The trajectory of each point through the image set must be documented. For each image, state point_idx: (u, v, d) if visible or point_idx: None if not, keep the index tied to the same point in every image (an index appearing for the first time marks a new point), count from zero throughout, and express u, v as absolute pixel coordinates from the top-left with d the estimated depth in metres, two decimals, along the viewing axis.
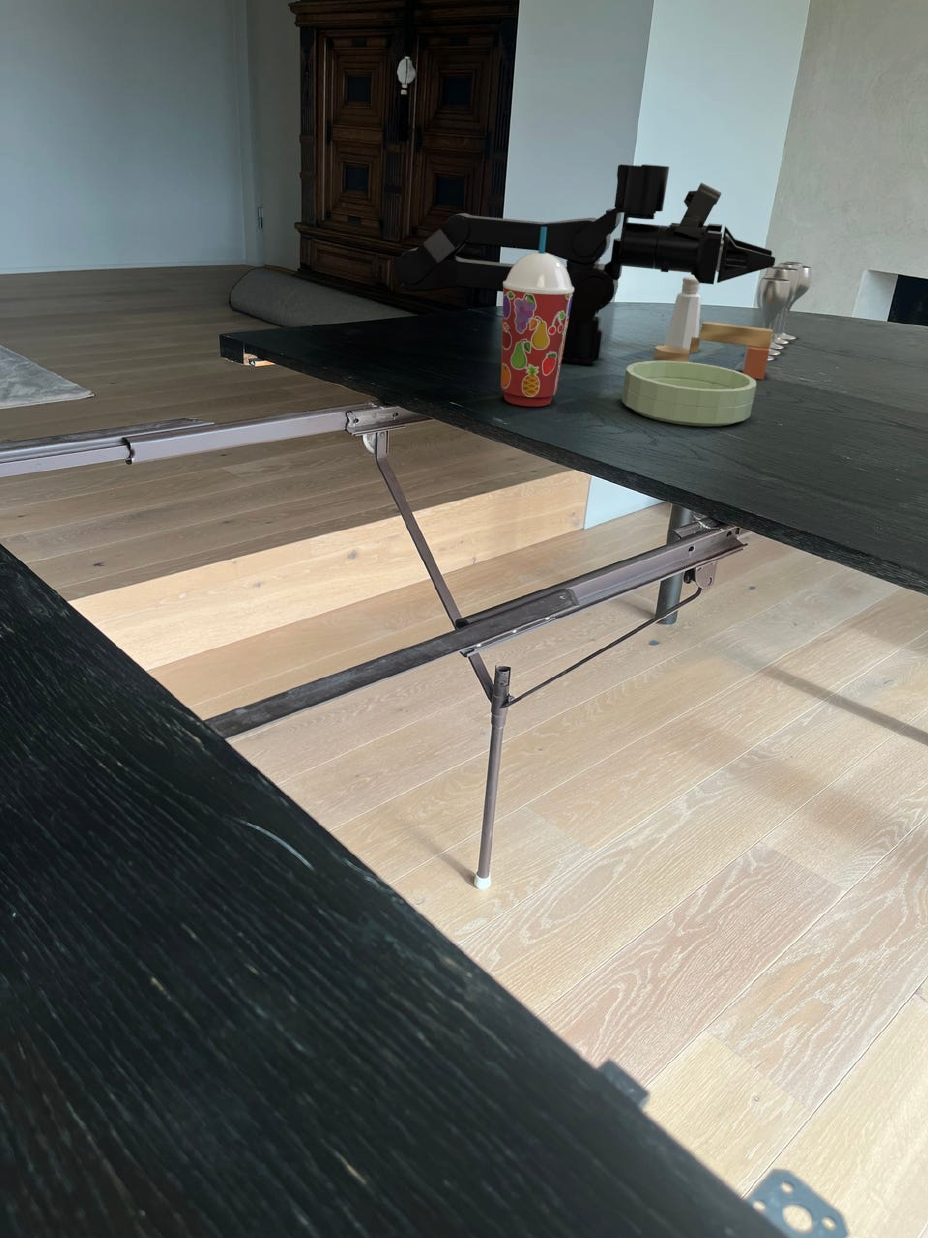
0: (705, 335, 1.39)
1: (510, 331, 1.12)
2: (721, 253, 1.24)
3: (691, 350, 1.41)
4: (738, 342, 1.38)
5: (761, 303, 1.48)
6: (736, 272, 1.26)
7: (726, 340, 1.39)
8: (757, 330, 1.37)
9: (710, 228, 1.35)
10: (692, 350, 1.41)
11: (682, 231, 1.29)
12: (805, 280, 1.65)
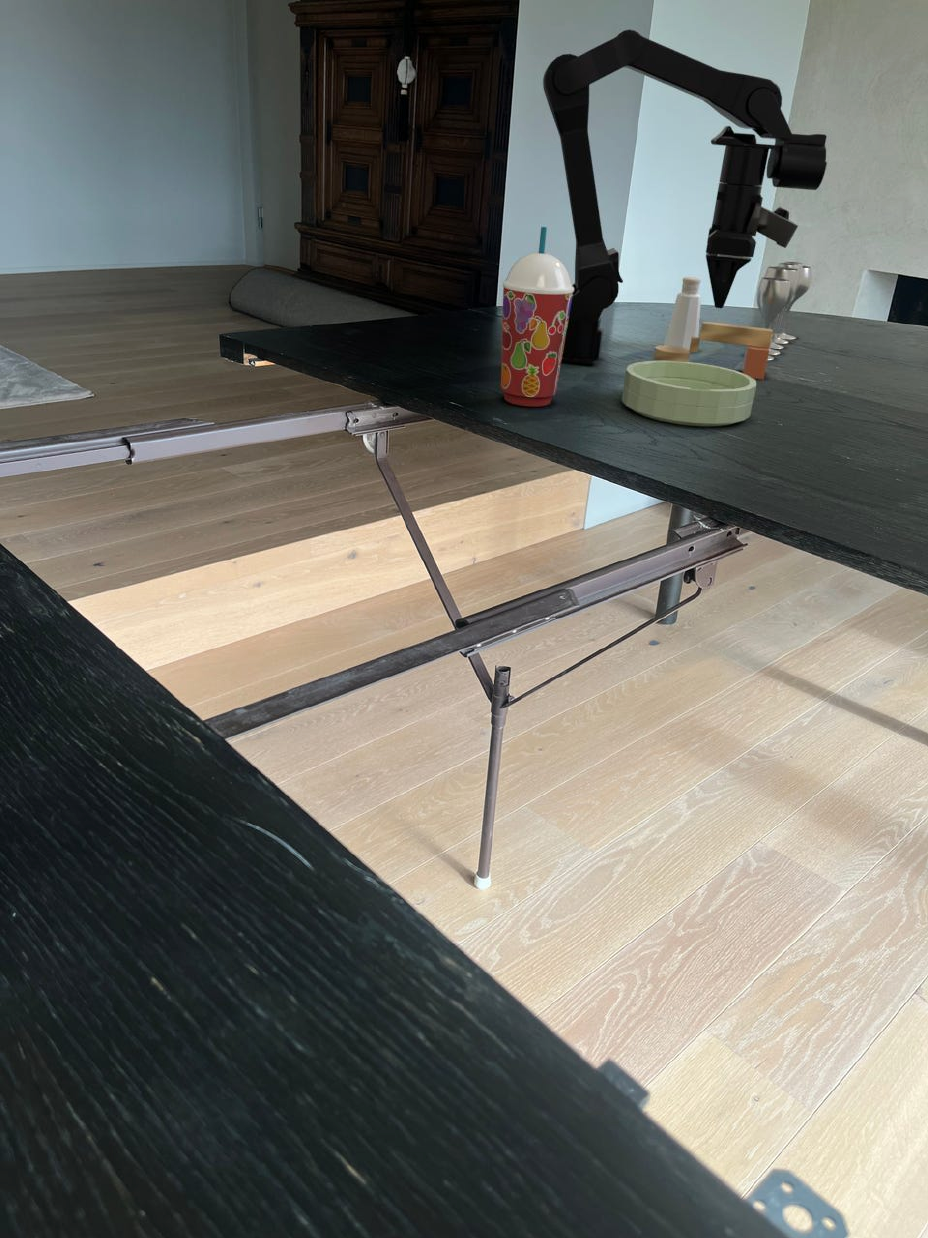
0: (705, 335, 1.39)
1: (510, 331, 1.12)
2: (733, 257, 1.27)
3: (691, 350, 1.41)
4: (738, 342, 1.38)
5: (761, 303, 1.48)
6: (713, 272, 1.30)
7: (726, 340, 1.39)
8: (757, 330, 1.37)
9: None
10: (692, 349, 1.41)
11: (755, 211, 1.29)
12: (805, 280, 1.65)
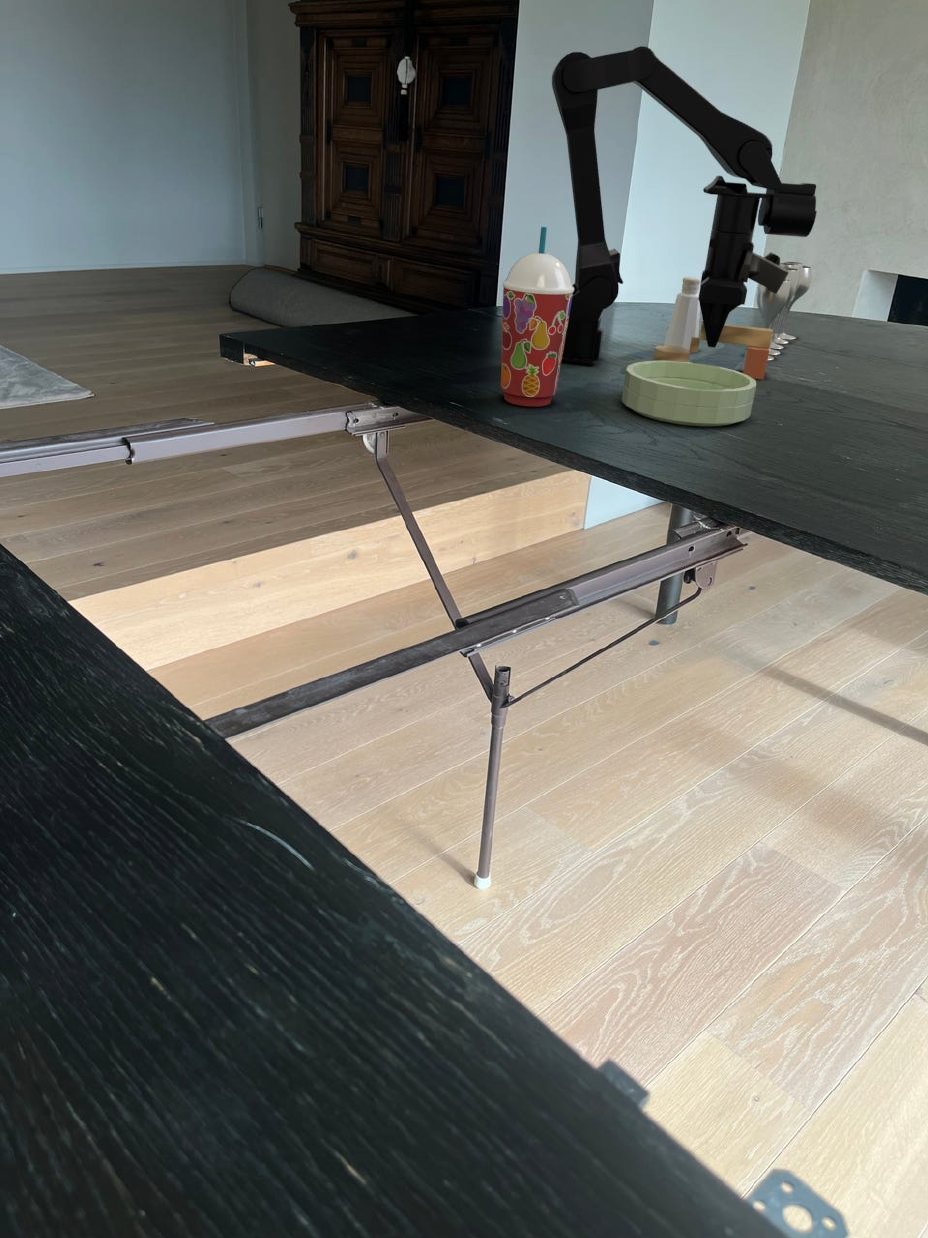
0: (705, 335, 1.39)
1: (510, 331, 1.12)
2: None
3: (691, 350, 1.41)
4: (738, 342, 1.38)
5: (761, 303, 1.48)
6: (705, 314, 1.36)
7: (726, 340, 1.39)
8: (757, 330, 1.37)
9: None
10: (692, 349, 1.41)
11: (746, 258, 1.32)
12: (805, 280, 1.65)
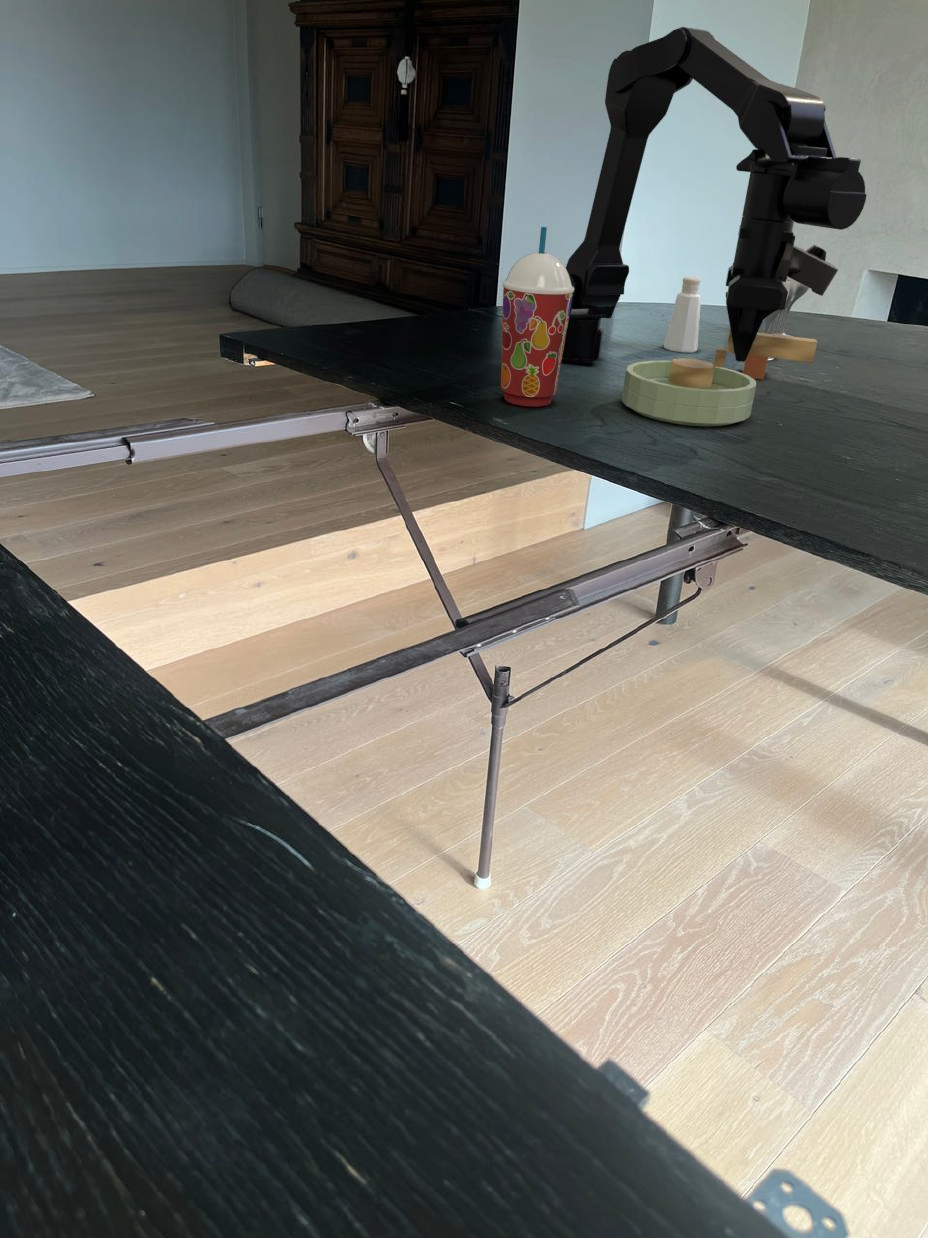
0: (733, 346, 1.13)
1: (510, 331, 1.12)
2: None
3: (716, 364, 1.15)
4: (774, 355, 1.13)
5: None
6: (734, 321, 1.11)
7: (759, 352, 1.13)
8: (798, 340, 1.12)
9: None
10: (718, 364, 1.15)
11: (785, 252, 1.06)
12: None
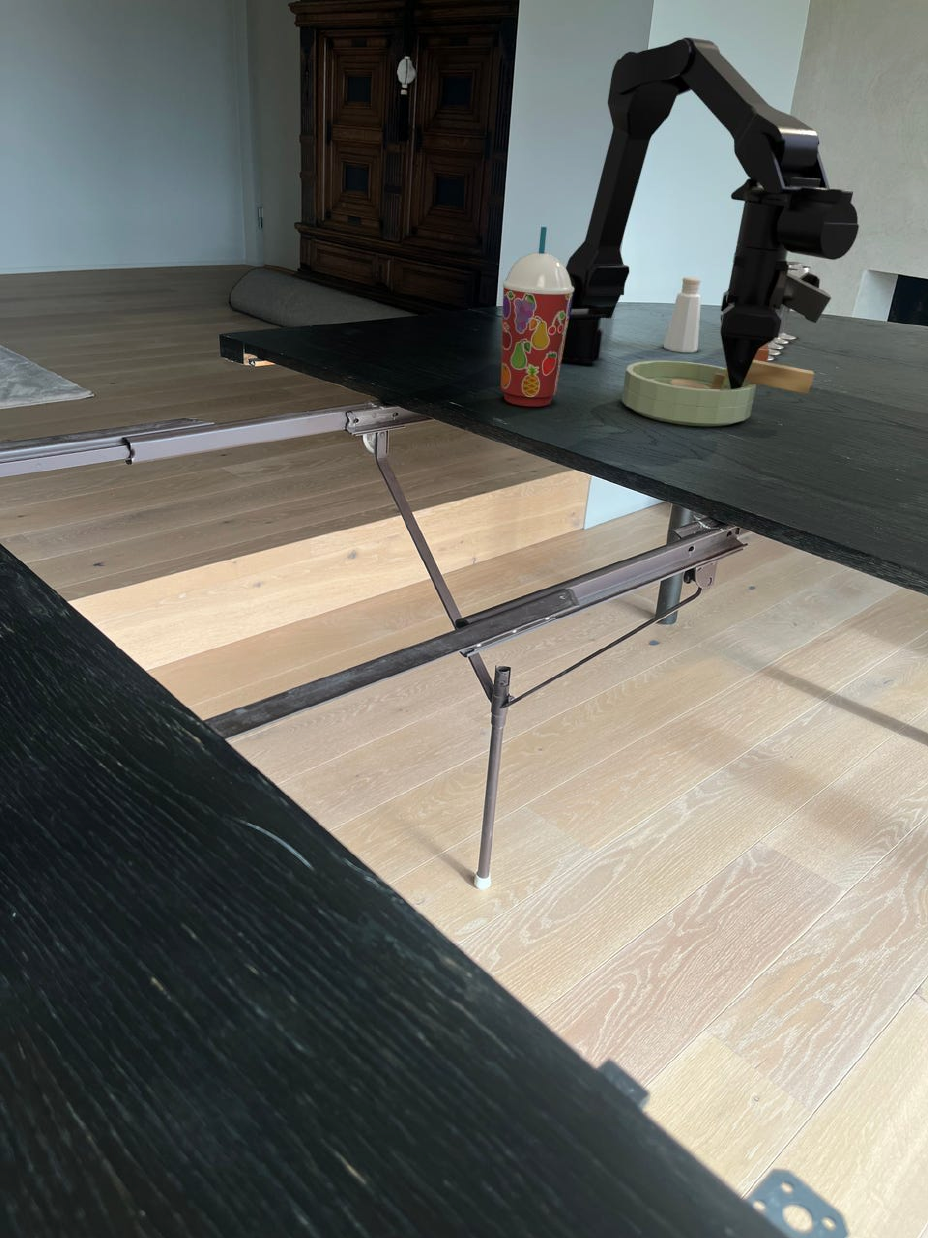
0: None
1: (510, 331, 1.12)
2: None
3: None
4: (771, 384, 1.14)
5: None
6: (728, 351, 1.10)
7: (757, 380, 1.15)
8: (795, 371, 1.13)
9: None
10: (715, 388, 1.16)
11: (779, 280, 1.08)
12: None
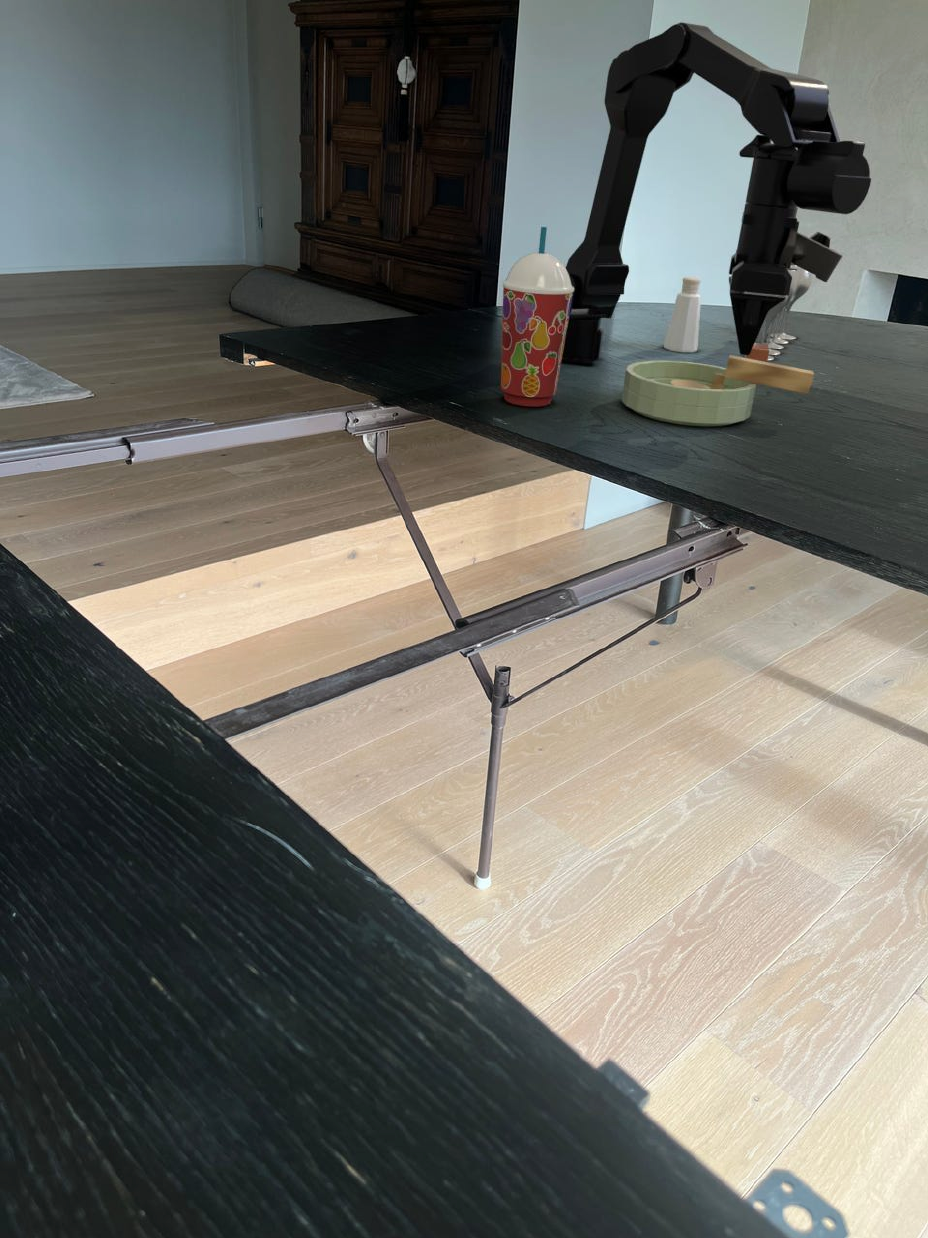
0: (732, 372, 1.15)
1: (510, 331, 1.12)
2: (764, 295, 1.04)
3: None
4: (771, 384, 1.14)
5: None
6: (738, 313, 1.07)
7: (757, 380, 1.15)
8: (795, 371, 1.13)
9: None
10: (715, 388, 1.16)
11: (789, 238, 1.05)
12: (805, 280, 1.65)
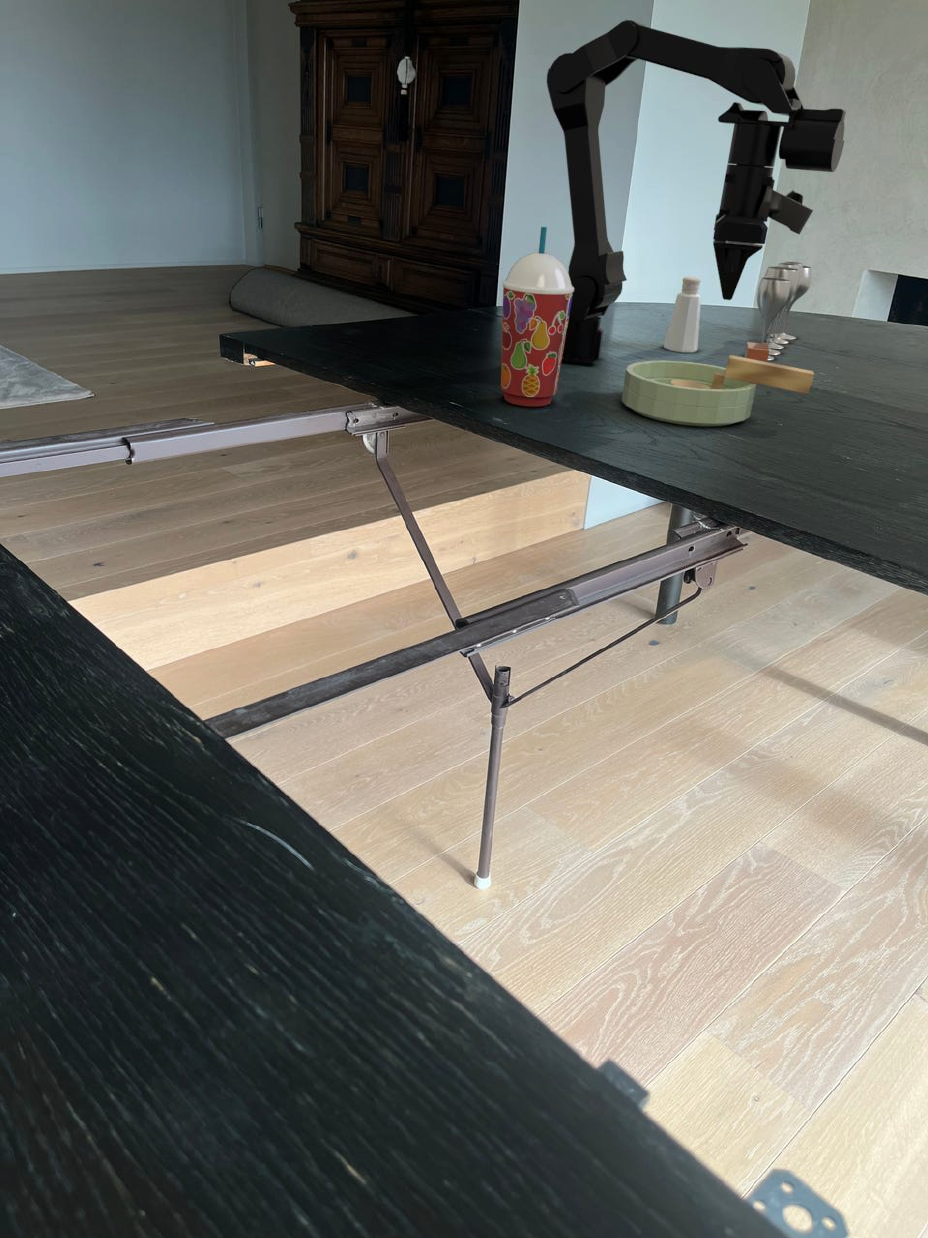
0: (732, 372, 1.15)
1: (510, 331, 1.12)
2: (743, 244, 1.17)
3: None
4: (771, 384, 1.14)
5: (761, 303, 1.48)
6: (721, 261, 1.20)
7: (757, 380, 1.15)
8: (795, 371, 1.13)
9: None
10: (715, 388, 1.16)
11: (766, 195, 1.19)
12: (805, 280, 1.65)
